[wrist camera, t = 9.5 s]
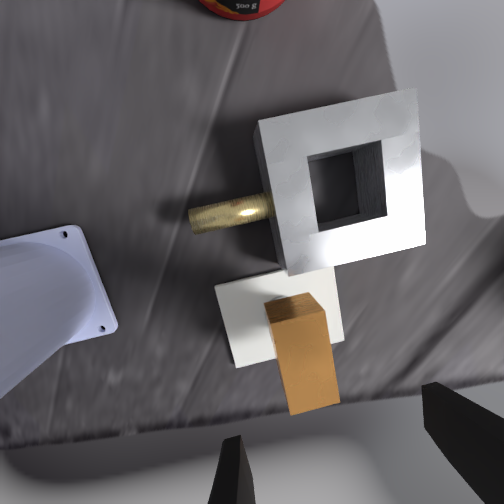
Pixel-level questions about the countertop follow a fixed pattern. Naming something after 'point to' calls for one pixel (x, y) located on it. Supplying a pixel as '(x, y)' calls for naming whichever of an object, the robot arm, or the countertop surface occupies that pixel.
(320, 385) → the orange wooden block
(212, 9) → the canned food
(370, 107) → the hollow block with rod
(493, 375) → the countertop surface
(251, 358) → the mat
